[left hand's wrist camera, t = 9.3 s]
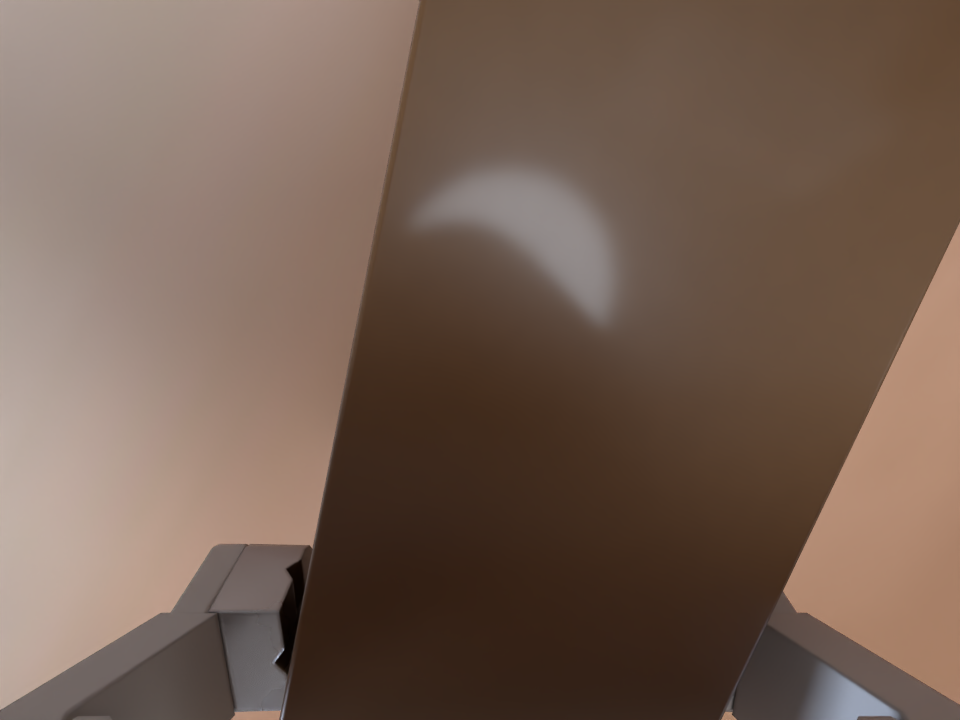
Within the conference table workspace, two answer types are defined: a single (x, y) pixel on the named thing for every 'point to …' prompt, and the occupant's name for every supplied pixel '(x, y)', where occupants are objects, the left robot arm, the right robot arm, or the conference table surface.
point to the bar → (617, 345)
